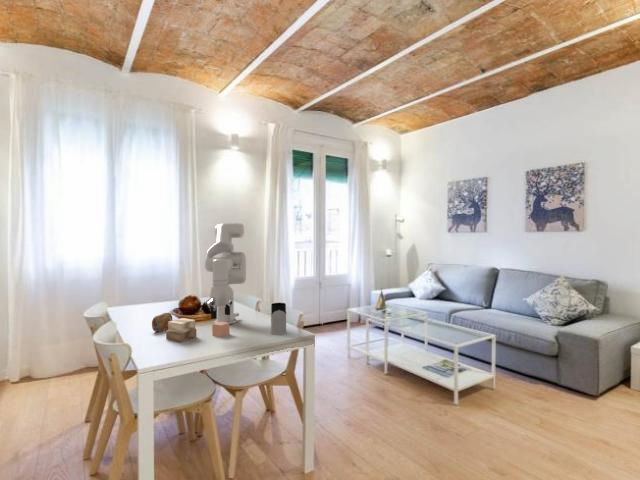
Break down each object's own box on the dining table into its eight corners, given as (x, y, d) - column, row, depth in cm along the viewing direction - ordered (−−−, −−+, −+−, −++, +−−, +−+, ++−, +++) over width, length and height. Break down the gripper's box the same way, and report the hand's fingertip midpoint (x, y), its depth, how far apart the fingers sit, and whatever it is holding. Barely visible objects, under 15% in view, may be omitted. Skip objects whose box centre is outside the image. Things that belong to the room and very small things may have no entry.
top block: (182, 326, 194) (182, 317, 194) (195, 328, 190) (195, 320, 189) (168, 330, 186) (168, 321, 186) (181, 333, 182) (181, 324, 182)
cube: (220, 332, 198) (220, 321, 197) (229, 334, 195) (229, 322, 194) (212, 335, 192) (212, 324, 192) (221, 337, 189) (221, 325, 189)
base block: (182, 335, 195) (182, 326, 194) (196, 337, 190) (196, 328, 189) (166, 340, 186) (166, 331, 186) (180, 343, 181) (180, 333, 181)
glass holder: (270, 335, 192) (270, 306, 192) (269, 328, 206) (269, 300, 206) (287, 334, 194) (287, 305, 193) (285, 327, 208) (285, 300, 207)
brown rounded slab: (156, 333, 196) (155, 317, 196) (150, 333, 197) (150, 317, 196) (173, 326, 211) (172, 311, 211) (168, 325, 211) (167, 311, 211)
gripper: (226, 280, 202) (227, 312, 202) (202, 284, 187) (202, 319, 187) (237, 281, 198) (237, 314, 198) (213, 285, 183) (213, 320, 183)
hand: (220, 316), depth 193 cm, fingers open, 9 cm apart
